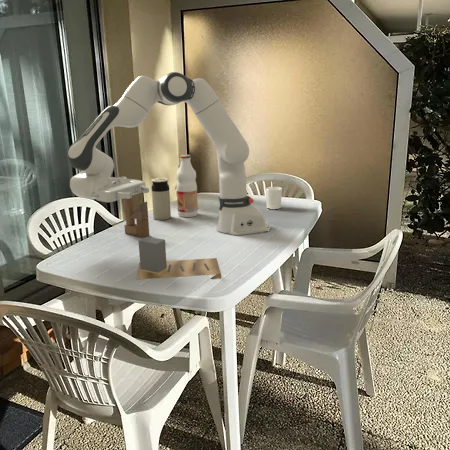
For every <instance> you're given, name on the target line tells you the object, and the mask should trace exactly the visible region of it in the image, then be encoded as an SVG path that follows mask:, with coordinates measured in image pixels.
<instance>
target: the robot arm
mask: <svg viewBox="0 0 450 450" xmlns="http://www.w3.org/2000/svg"><path fill="white" fill-rule="evenodd" d="M182 102H184V103H186V104H187V105H188V106H189V107H190V108H191V109H192V112H193V114H194V115H195V117H196V118H197V121H198V122H199V123H200V125H201V126H202V128H203V130H204V131H205V133H206V135H207V136H208V138H209V139H210V141H211V142H212V143H213V145H214V147H215V148H216V159H217V170H218V177H219V178H218V179H219V183H218V184H219V195H218V201H217V203H218V210H219V213H218V221H217V224H216V230H217V231H218V232H220V233H224V234H230V235H233V236H241V235H242V236H243V235H244V236H245V235H251V234H258V233H257V232H260V233H264V232H263V231H268V230H270V231H271V225H270V224H269V223H268V221H265V220H266V219H265V216H264V213H263V211H261V210H259V209H258V208H257V207H255V205H253V204H254V200H255V199H254V198H252V197H251V196H249V195H248V194H247V175H246V174H247V173H246V167H245V162H246V161H247V160H248V157H249V155H250V147H249V145H248V142H247V140H246V139H245V137H244V136H243V134H242V133H241V132H240V130H239V128H238V127H237V125H236V124H235V122H234V121H233V120H232V118H231V117H230V114H229V113H228V112H227V110H226V108H225V107H224V105H223V103H222V102H221V100H220V98H219V96H218V95H217V93H216V92H215V91H214V89H213V87H212V86H211V85H210V84H209V83H208V81H207V80H205V79H204V78H201V77H197V78H194V79H191V78H189V77H187V76H186V75H184V74H182V73H181V72H178V71H176V72H175V71H173V72H168V73H166V74H164V75H163V76H162V77H160V78H159V79H157V80H154V79H152V78H151V77H149V76H146V75H140V76H138V77H136V78H135V80H134V81H132V82H131V83H130V85H129V86H128V87H127V89H126V90H125V92H124V93H123V95H122V96H121V98H120V99H119V100H118V101H117V102H115V104H113V105H108V106H107V107H105V109H104V110H102V112H100V113H99V115H98V116H96V118H95V119H94V121H93V122H91V124H90V126H89V127H88V128H87V129H86V130H85V131H84V133H83V134H81V136H80V137H79V138H78V139H77V140H75V141H74V142H73V143H72V144H71V145H70V146H69V148H68V150H67V155H66V156H67V161H68V164H69V166H70V167H71V168H73V169H75V170H78V171H80V172H79V173H77V174H75V175H74V176H73V175H72V177H71V178H70V180H69V187H70V190H71V192H72V193H73V194H74V195H75V196H76V197H79V198H83V199H86V200H92V201H93V200H96V201H98V202H102V203H113V202H116V201H119V200H124V199H125V198H126V199H130V198H132V195H133V196H135V195H138V194H141V193H143V194H149V193H150V188H149V187H148V186H146V183H145V181H143V180H140V179H133V178H127V176H118V177H117V176H115V177H114V176H113V172H114V169H115V162H114V159H113V158H112V157H111V156H109V155H108V154H106V153H105V152H103V151H101V150H100V149H98V148H97V147H96V146H97V145H98V144H99V143H100V142H101V140H102V138H103V137H105V135H106V134H107V133H108V132H109V131H110V130H111V129H113V128H116V127H123V128H137V127H138V126H140V125H141V124H143V122H144V121H145V120H146V118H147V117H148V115H149V113H150V111H151V110H152V108H153V107H154V106H155V104H157V103H158V104H162V105H164V106H175V105H178V104H180V103H182ZM268 232H269V231H268Z"/></svg>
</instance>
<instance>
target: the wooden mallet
mask: <svg viewBox="0 0 450 450" xmlns="http://www.w3.org/2000/svg"><path fill="white" fill-rule="evenodd" d="M123 202H124V203H123V204H124V212H125V213H124V215H125V223H126V224H124V234H128V235H133V236H138V237H141V238H146V237H149V235H150V225H149V224H150V223H149V209H148V201H144V202H141V203H140V204H139V205H138V206H137V207H136V209H135V207H134V195H132V198H130V199H126V198H125V199H123Z"/></svg>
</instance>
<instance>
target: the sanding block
mask: <svg viewBox="0 0 450 450" xmlns="http://www.w3.org/2000/svg"><path fill="white" fill-rule="evenodd" d="M138 252H139V263H140V268H141V270H142V271H146V272H151V273H156V274H159V273H161V272H163V271H164V270H166V269H167V264H166V261H167V251H166V239H163V238H158V237H153V236H151V237H150V236H145V237H142V239H139V240H138Z"/></svg>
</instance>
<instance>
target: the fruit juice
mask: <svg viewBox="0 0 450 450" xmlns="http://www.w3.org/2000/svg"><path fill="white" fill-rule="evenodd" d="M179 159H180V164H179V167H178V169H177V170H176V175H175V176H176V177H175V178H176V180H177V183H176V203H177V215H178V216H179V217H181V218H193V217H196V216H198V213H199V206H198V185H197V181H196V180H197V179H196V178H197V172H196V169H194V167H193V165H192V163H191V159H192V157H191V154H180V156H179Z"/></svg>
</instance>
